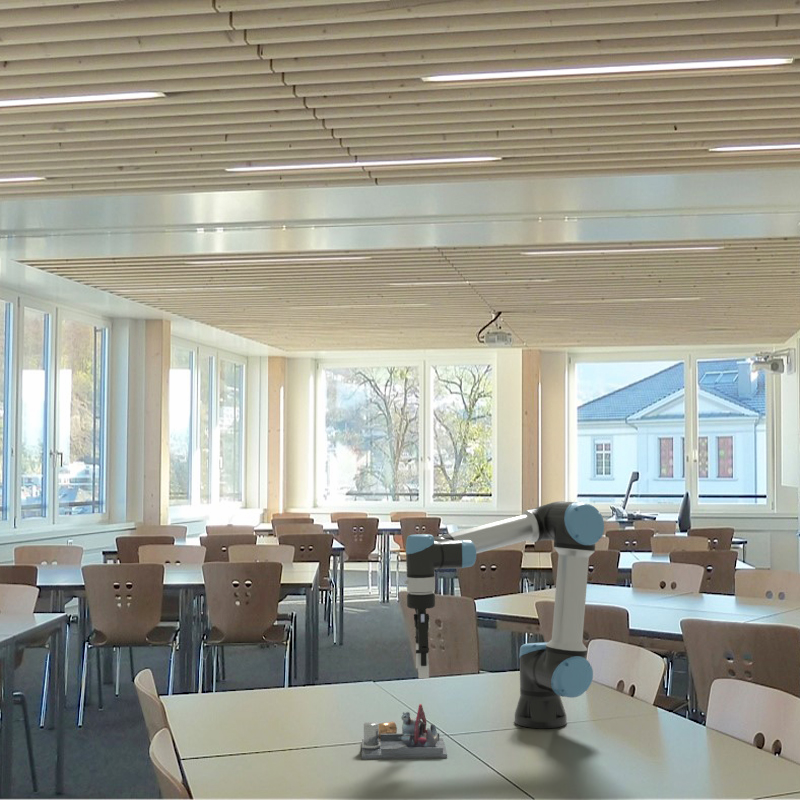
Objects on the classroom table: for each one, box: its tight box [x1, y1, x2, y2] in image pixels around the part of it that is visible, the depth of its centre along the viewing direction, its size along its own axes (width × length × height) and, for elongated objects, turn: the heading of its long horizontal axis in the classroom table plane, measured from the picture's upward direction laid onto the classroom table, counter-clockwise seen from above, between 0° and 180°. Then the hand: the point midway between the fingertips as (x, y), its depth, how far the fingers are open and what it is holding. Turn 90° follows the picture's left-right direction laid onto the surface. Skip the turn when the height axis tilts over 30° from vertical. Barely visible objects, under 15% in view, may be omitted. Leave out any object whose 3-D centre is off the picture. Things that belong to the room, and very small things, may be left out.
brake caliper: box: [399, 703, 438, 747], centre depth 287 cm, size 11×11×12 cm
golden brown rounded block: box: [379, 721, 398, 738], centre depth 302 cm, size 6×4×4 cm, turn 122°
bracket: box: [361, 721, 448, 760], centre depth 287 cm, size 22×16×7 cm
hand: (422, 673), depth 288 cm, fingers open, 13 cm apart
